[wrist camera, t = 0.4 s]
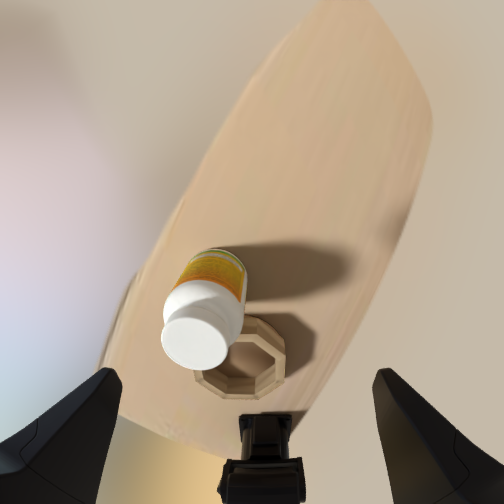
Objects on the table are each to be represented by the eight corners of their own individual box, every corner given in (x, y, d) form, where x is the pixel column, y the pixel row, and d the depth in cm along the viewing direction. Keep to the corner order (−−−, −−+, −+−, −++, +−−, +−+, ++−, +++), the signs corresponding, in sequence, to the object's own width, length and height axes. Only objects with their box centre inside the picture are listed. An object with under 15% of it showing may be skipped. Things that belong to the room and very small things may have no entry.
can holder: (281, 378, 28) (282, 399, 25) (204, 377, 29) (199, 397, 26) (284, 313, 25) (286, 333, 23) (193, 313, 26) (186, 332, 23)
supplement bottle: (179, 253, 24) (135, 311, 15) (240, 241, 23) (227, 299, 14) (195, 307, 26) (167, 380, 16) (253, 299, 25) (248, 375, 16)
